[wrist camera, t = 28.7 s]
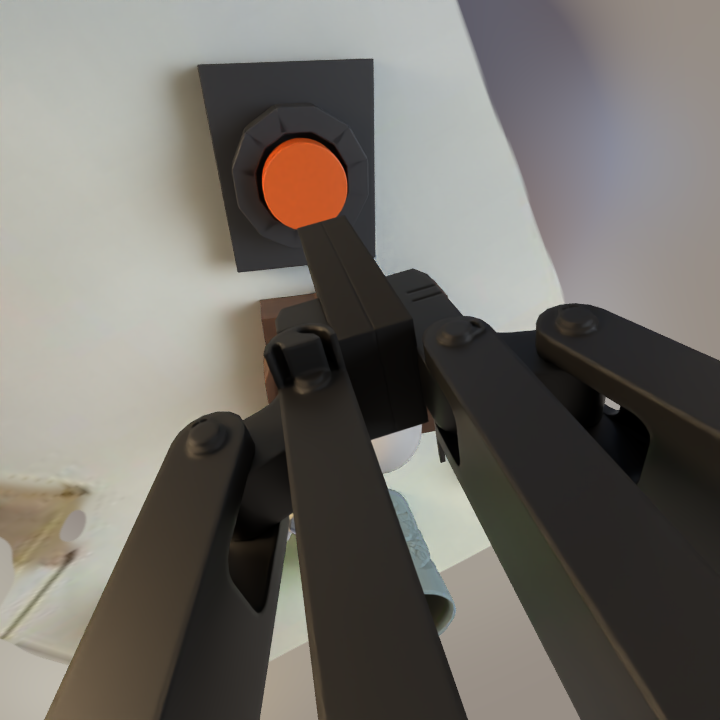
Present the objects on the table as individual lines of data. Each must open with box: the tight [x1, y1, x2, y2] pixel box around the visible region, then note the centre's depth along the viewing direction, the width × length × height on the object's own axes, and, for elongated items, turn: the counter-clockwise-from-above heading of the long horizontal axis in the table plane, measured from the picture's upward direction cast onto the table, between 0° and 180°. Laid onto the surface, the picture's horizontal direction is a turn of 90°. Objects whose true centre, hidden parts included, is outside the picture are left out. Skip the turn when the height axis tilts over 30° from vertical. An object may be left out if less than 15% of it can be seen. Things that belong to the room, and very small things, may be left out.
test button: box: [262, 138, 347, 230], centre depth 24 cm, size 4×4×2 cm
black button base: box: [197, 59, 375, 272], centre depth 26 cm, size 11×9×4 cm
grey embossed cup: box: [388, 489, 456, 635], centre depth 43 cm, size 10×10×12 cm
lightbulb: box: [371, 424, 422, 474], centre depth 32 cm, size 6×6×11 cm
